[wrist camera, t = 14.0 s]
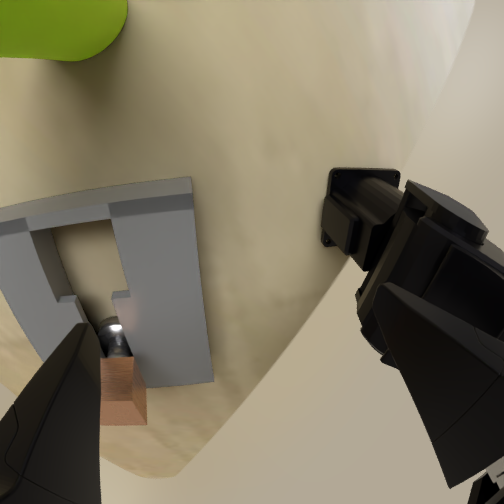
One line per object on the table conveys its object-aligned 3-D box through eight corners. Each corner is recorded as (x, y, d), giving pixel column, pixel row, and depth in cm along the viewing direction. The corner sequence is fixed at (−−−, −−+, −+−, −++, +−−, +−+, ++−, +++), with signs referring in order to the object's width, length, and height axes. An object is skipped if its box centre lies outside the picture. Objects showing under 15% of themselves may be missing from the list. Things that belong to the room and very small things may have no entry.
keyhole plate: (-7, 209, 16) (-25, 228, 14) (190, 176, 19) (192, 192, 17) (67, 366, 26) (63, 389, 24) (210, 357, 29) (214, 381, 27)
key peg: (138, 314, 24) (134, 399, 17) (149, 347, 26) (150, 425, 20) (92, 317, 23) (77, 399, 16) (107, 349, 26) (99, 426, 19)
